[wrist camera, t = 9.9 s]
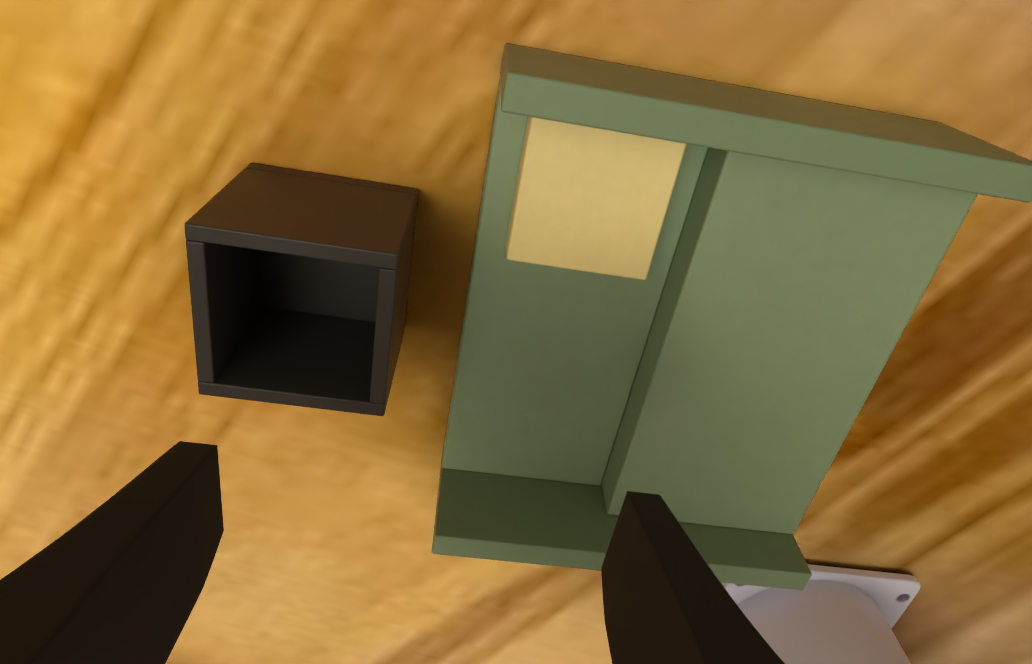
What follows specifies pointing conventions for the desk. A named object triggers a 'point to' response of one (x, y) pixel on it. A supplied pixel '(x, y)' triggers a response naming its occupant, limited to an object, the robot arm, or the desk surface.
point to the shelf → (694, 318)
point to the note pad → (591, 198)
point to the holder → (301, 288)
